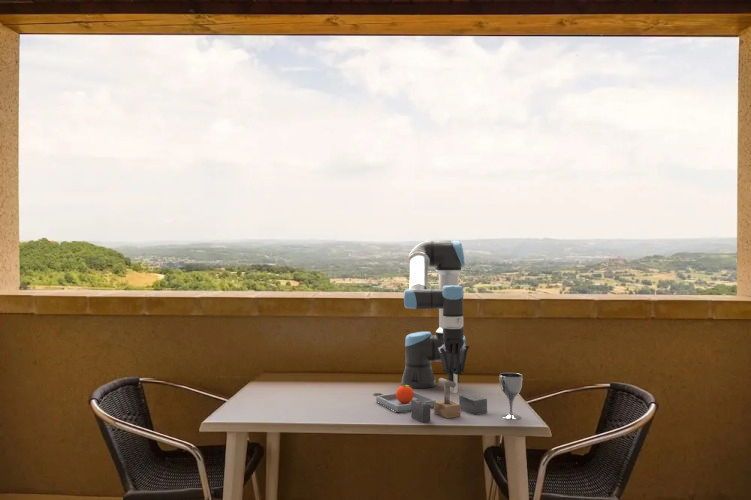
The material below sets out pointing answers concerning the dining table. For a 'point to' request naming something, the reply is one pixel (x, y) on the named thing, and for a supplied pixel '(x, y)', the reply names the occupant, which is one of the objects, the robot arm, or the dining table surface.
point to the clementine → (404, 394)
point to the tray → (397, 406)
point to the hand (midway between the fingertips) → (453, 391)
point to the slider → (447, 402)
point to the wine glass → (511, 391)
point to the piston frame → (467, 403)
